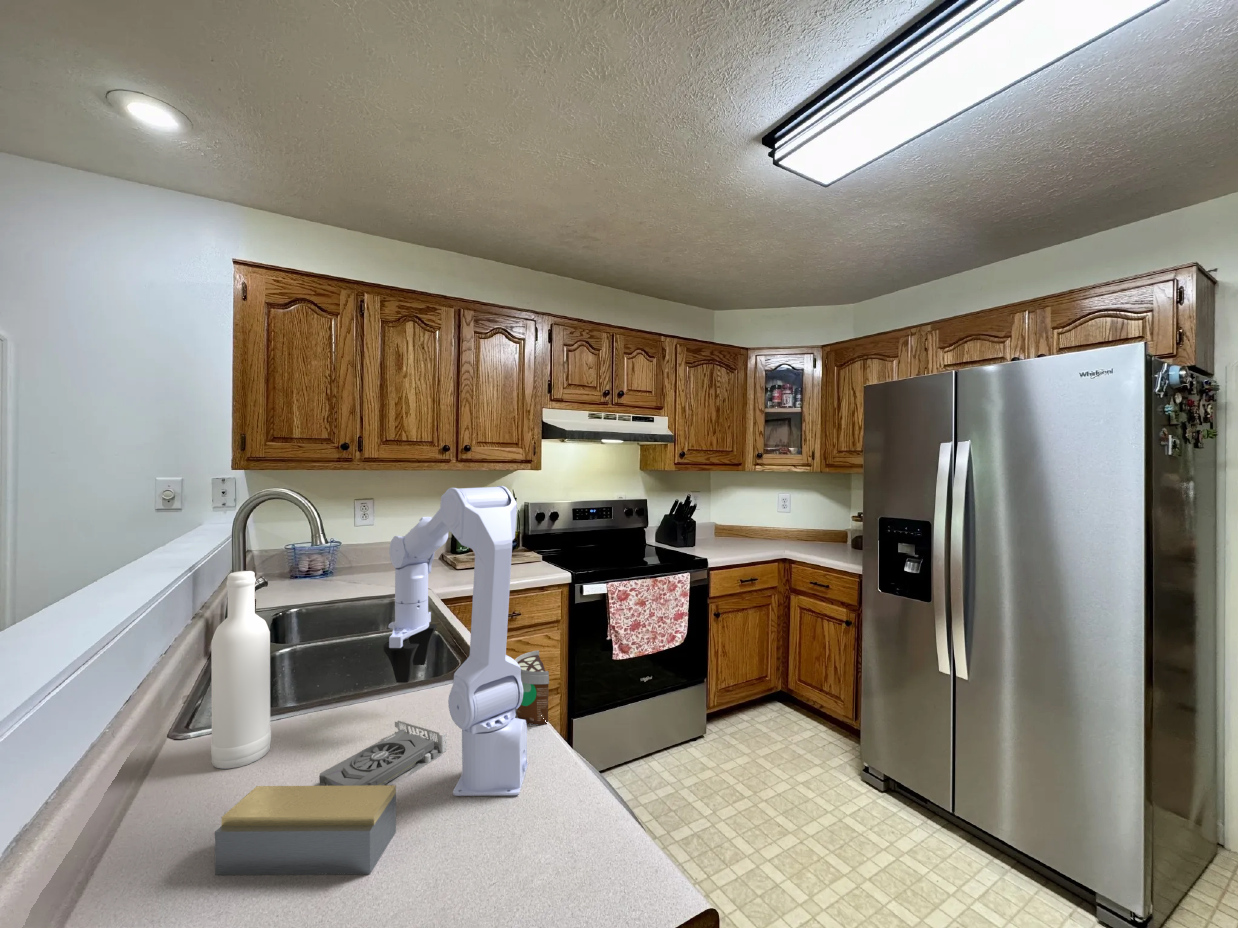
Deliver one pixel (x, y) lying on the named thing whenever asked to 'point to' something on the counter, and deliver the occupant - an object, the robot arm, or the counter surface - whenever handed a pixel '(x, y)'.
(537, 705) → the food container
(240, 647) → the bottle
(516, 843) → the counter surface
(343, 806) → the grey flat box
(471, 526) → the robot arm
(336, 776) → the graphics card
